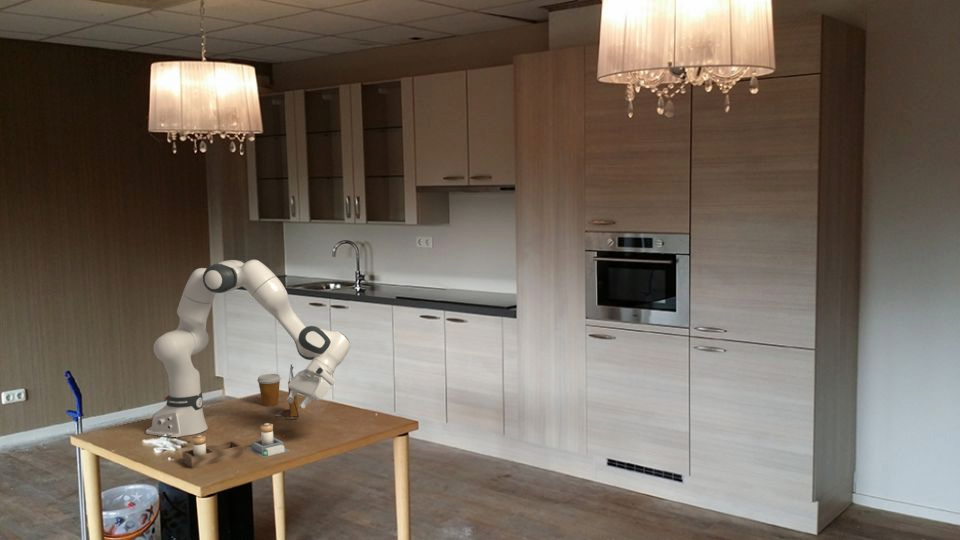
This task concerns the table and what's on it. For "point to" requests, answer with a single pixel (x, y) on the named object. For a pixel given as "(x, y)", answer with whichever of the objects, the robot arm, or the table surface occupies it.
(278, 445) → the checker
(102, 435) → the table surface
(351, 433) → the table surface
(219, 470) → the table surface
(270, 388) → the disposable coffee cup
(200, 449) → the cell
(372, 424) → the table surface
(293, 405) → the multimeter
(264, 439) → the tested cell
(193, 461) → the rack
